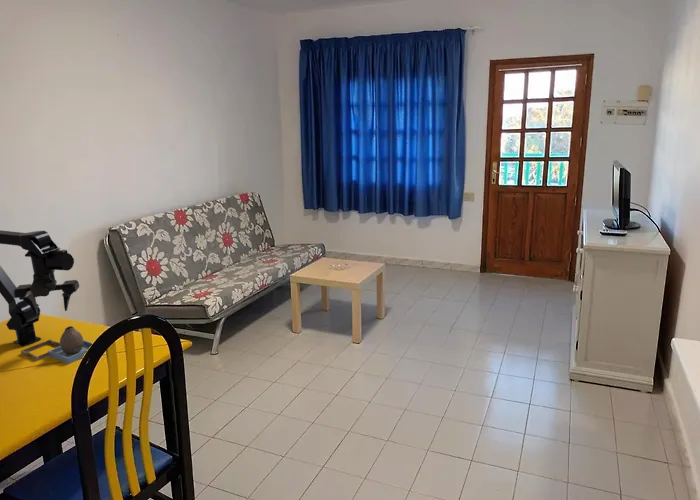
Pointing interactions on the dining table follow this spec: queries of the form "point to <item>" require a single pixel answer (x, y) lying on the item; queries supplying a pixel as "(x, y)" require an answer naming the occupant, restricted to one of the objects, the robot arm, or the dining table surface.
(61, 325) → the dining table surface
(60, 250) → the robot arm
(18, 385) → the dining table surface
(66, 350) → the vase
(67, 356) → the slate tray
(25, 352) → the walnut frame
